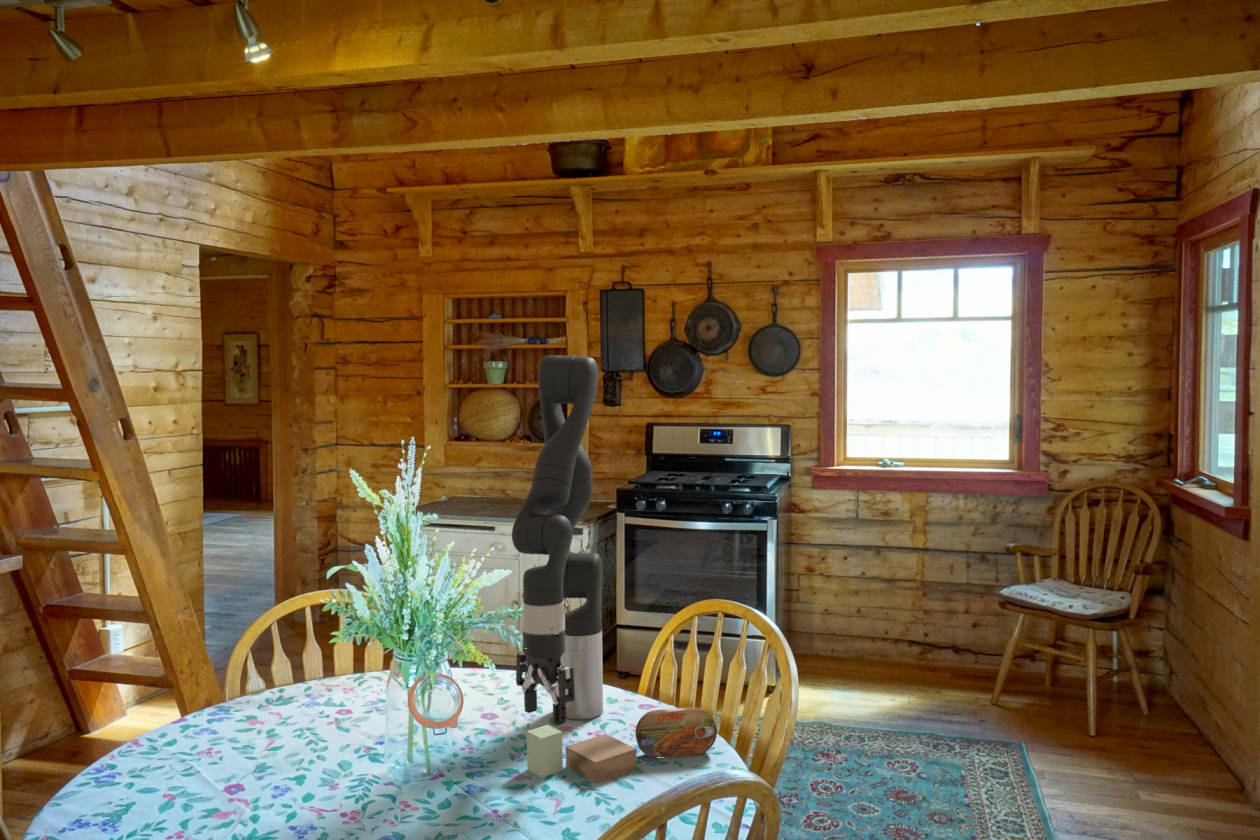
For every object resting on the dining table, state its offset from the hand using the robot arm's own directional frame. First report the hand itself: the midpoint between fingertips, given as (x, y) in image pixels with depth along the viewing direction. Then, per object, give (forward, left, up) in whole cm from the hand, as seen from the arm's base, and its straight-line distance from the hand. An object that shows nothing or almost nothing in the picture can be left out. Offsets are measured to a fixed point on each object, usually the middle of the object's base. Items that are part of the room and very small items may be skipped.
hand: (545, 717), depth 168 cm
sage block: (0, 0, -10) cm, 10 cm away
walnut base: (+6, +8, -10) cm, 14 cm away
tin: (+10, +22, -10) cm, 26 cm away
